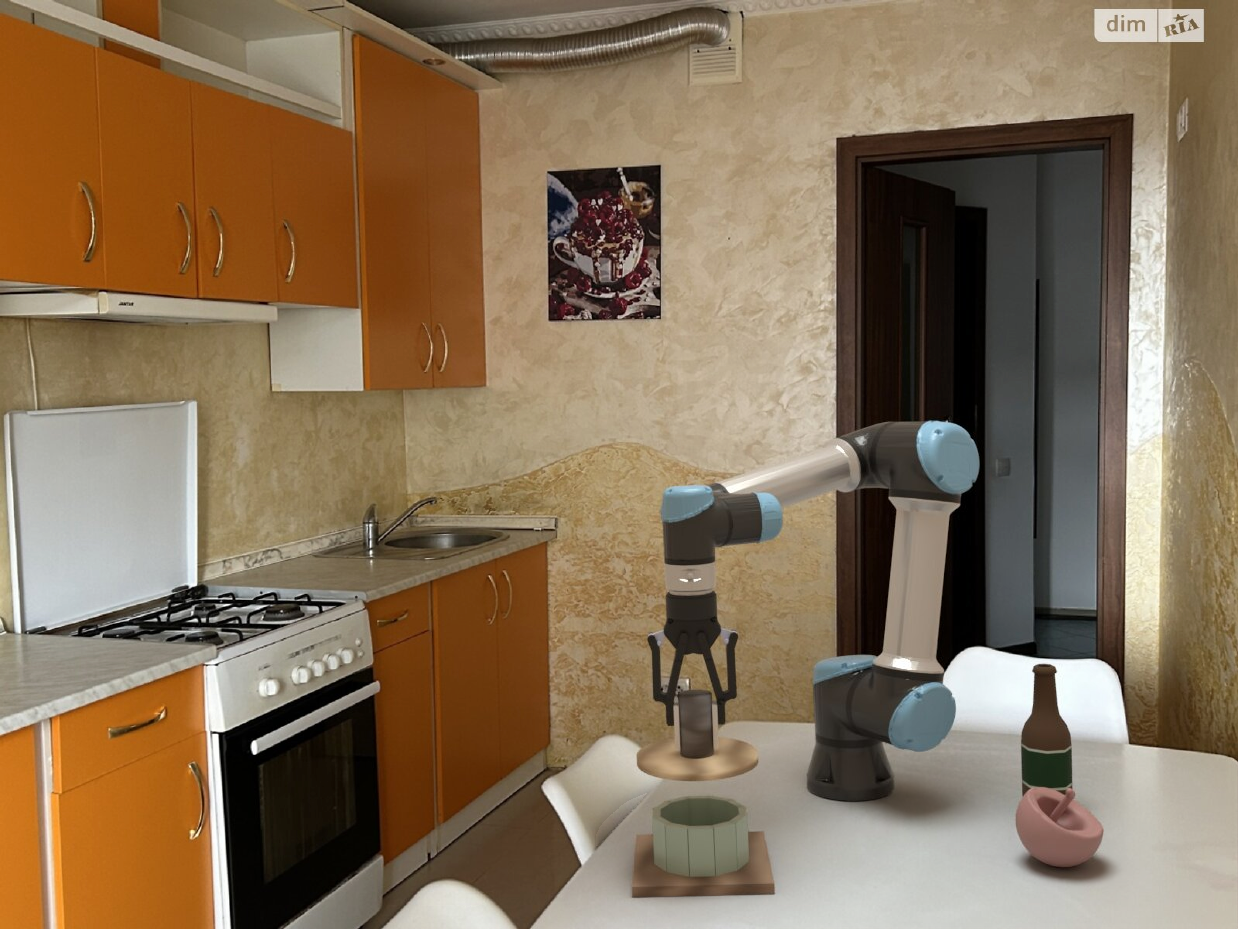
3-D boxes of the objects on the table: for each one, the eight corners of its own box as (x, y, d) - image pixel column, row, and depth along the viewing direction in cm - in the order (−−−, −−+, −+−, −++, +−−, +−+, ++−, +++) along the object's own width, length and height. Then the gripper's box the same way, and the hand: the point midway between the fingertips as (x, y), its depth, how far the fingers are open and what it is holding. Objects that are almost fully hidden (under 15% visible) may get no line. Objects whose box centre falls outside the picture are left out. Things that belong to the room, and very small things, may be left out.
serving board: (763, 840, 189) (763, 831, 189) (774, 894, 169) (774, 883, 169) (636, 844, 190) (636, 834, 190) (632, 897, 170) (632, 887, 170)
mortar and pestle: (1095, 886, 167) (1093, 805, 166) (1007, 871, 173) (1005, 793, 173) (1111, 856, 177) (1109, 780, 177) (1027, 843, 184) (1025, 769, 183)
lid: (754, 742, 187) (751, 677, 187) (762, 779, 169) (760, 708, 169) (638, 745, 188) (635, 680, 187) (634, 783, 170) (631, 711, 170)
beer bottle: (1048, 822, 192) (1045, 673, 190) (1012, 808, 199) (1008, 664, 197) (1083, 812, 195) (1080, 666, 194) (1046, 799, 202) (1043, 657, 201)
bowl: (745, 839, 186) (743, 794, 186) (751, 875, 172) (749, 827, 172) (655, 841, 187) (653, 797, 187) (653, 878, 173) (651, 830, 173)
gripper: (628, 597, 174) (635, 755, 175) (753, 593, 173) (759, 752, 174) (630, 588, 181) (636, 740, 183) (750, 584, 181) (755, 737, 182)
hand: (696, 746), depth 179 cm, fingers closed on lid, 5 cm apart
